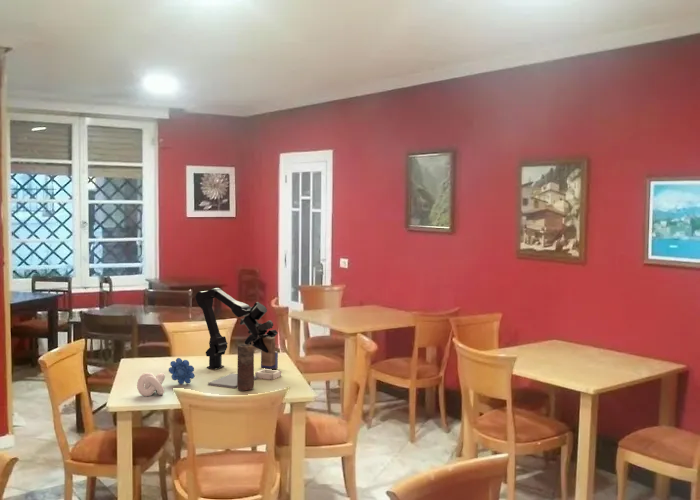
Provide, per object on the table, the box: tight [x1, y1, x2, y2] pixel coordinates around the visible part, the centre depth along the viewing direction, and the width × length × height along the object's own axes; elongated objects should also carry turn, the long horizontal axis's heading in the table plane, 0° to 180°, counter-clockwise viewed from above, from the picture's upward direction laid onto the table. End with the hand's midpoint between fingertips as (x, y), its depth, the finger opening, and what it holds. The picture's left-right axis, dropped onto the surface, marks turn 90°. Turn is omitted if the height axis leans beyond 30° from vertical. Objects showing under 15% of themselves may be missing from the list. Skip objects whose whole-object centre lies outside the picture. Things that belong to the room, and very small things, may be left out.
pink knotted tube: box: [136, 372, 166, 397], centre depth 298 cm, size 11×12×9 cm
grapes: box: [168, 357, 196, 385], centre depth 314 cm, size 12×7×12 cm, turn 95°
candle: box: [236, 343, 255, 392], centre depth 308 cm, size 8×7×20 cm
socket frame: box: [254, 368, 282, 380], centre depth 331 cm, size 8×9×2 cm
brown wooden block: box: [261, 337, 276, 366], centre depth 331 cm, size 4×5×13 cm
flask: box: [260, 350, 279, 370], centre depth 348 cm, size 9×3×11 cm, turn 68°
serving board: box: [207, 372, 259, 389], centre depth 322 cm, size 20×14×1 cm
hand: (270, 351), depth 330 cm, fingers closed on brown wooden block, 4 cm apart
